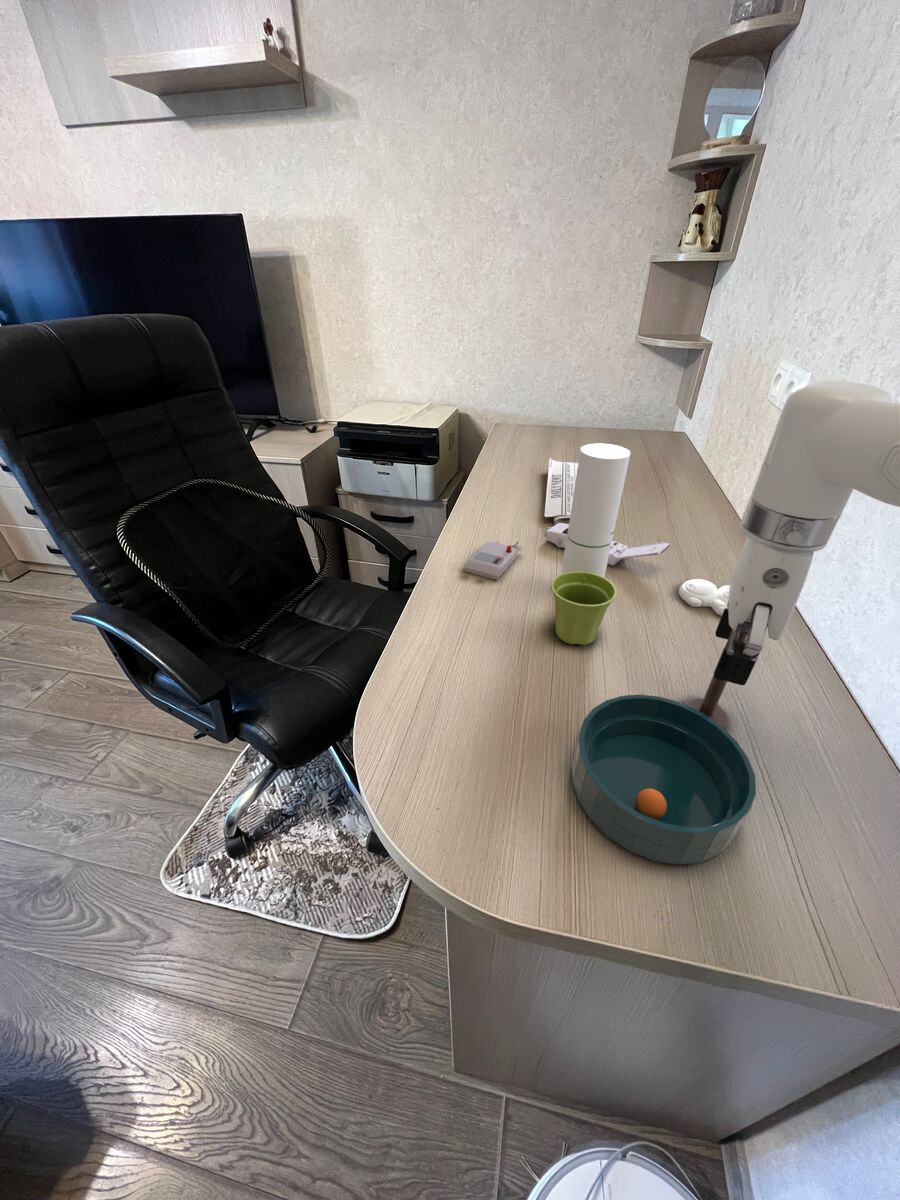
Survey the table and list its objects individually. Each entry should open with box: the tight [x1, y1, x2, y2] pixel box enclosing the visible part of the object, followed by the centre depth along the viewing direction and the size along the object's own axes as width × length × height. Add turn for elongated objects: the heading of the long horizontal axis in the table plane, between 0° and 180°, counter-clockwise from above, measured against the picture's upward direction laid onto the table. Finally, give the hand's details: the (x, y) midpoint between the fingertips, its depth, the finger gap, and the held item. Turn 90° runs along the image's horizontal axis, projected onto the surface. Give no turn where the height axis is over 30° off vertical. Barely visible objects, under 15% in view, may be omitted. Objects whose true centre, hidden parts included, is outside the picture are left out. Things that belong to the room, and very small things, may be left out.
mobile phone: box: [545, 523, 671, 566], centre depth 97 cm, size 6×6×25 cm
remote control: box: [464, 541, 520, 582], centre depth 96 cm, size 7×16×3 cm, turn 152°
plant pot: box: [550, 571, 618, 646], centre depth 76 cm, size 9×9×9 cm
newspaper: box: [543, 457, 579, 525], centre depth 122 cm, size 35×12×4 cm, turn 172°
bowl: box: [571, 693, 757, 865], centre depth 54 cm, size 17×17×6 cm
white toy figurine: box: [678, 578, 730, 617], centre depth 85 cm, size 9×12×3 cm
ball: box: [635, 789, 667, 820], centre depth 52 cm, size 3×3×3 cm
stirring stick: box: [684, 622, 749, 729], centre depth 60 cm, size 5×5×15 cm
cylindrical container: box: [560, 442, 631, 578], centre depth 81 cm, size 7×7×25 cm
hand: (728, 657), depth 58 cm, fingers open, 7 cm apart
